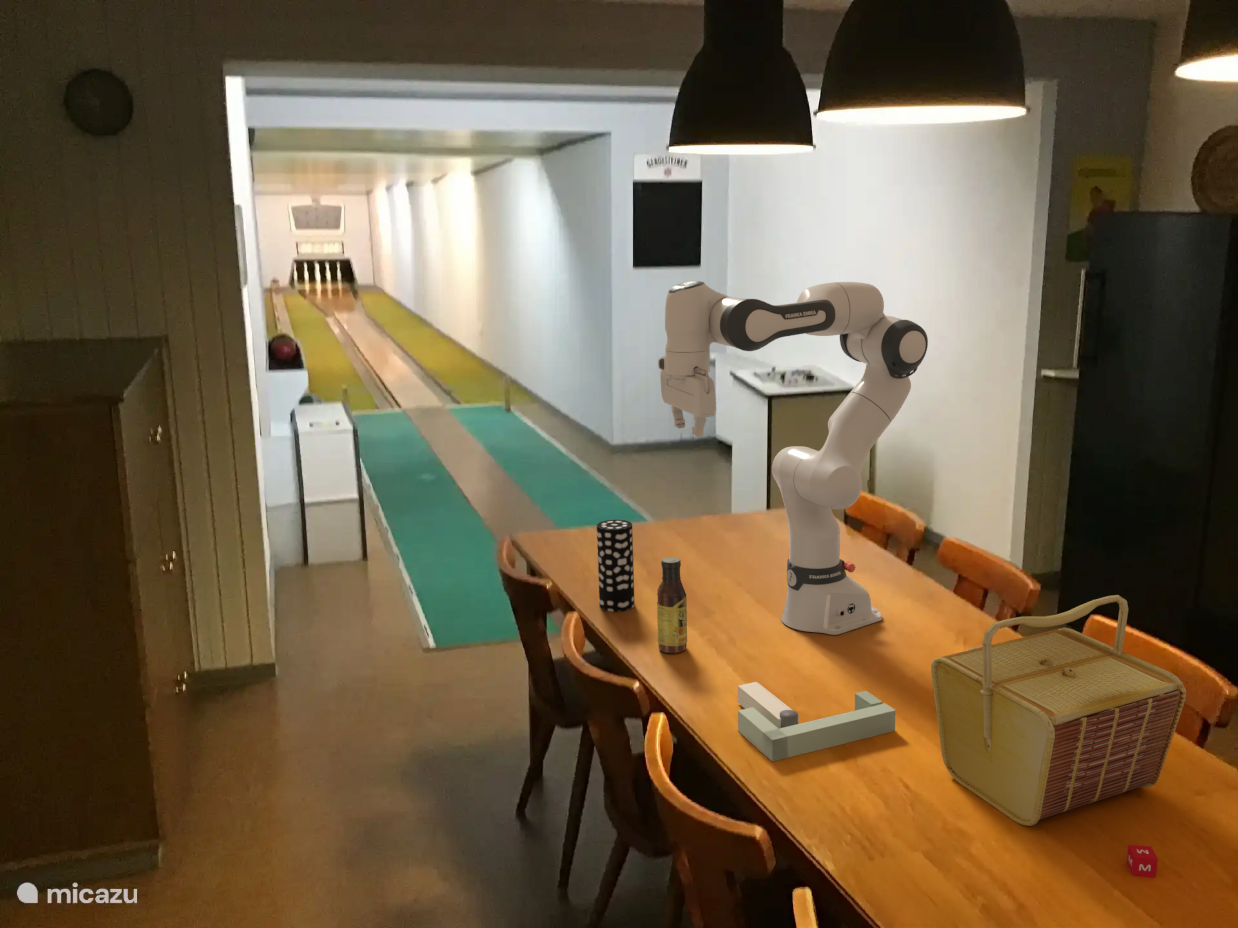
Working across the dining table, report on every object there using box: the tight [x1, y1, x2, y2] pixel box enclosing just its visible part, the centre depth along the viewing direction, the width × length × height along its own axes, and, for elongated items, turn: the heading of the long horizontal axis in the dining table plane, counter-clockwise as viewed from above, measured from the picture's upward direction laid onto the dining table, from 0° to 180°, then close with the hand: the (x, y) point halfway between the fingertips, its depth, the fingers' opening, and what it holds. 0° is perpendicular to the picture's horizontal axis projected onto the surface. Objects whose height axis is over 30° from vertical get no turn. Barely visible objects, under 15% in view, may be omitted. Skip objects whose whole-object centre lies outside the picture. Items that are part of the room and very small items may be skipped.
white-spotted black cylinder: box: [596, 519, 635, 613], centre depth 251 cm, size 8×8×20 cm
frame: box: [737, 690, 897, 762], centre depth 190 cm, size 25×12×4 cm, turn 112°
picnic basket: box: [930, 594, 1187, 827], centre depth 167 cm, size 29×26×30 cm
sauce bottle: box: [656, 556, 688, 654], centre depth 225 cm, size 6×6×20 cm
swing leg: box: [737, 681, 800, 729], centre depth 194 cm, size 17×4×4 cm, turn 22°
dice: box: [1126, 844, 1159, 879], centre depth 148 cm, size 3×3×3 cm
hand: (688, 431), depth 216 cm, fingers open, 8 cm apart
